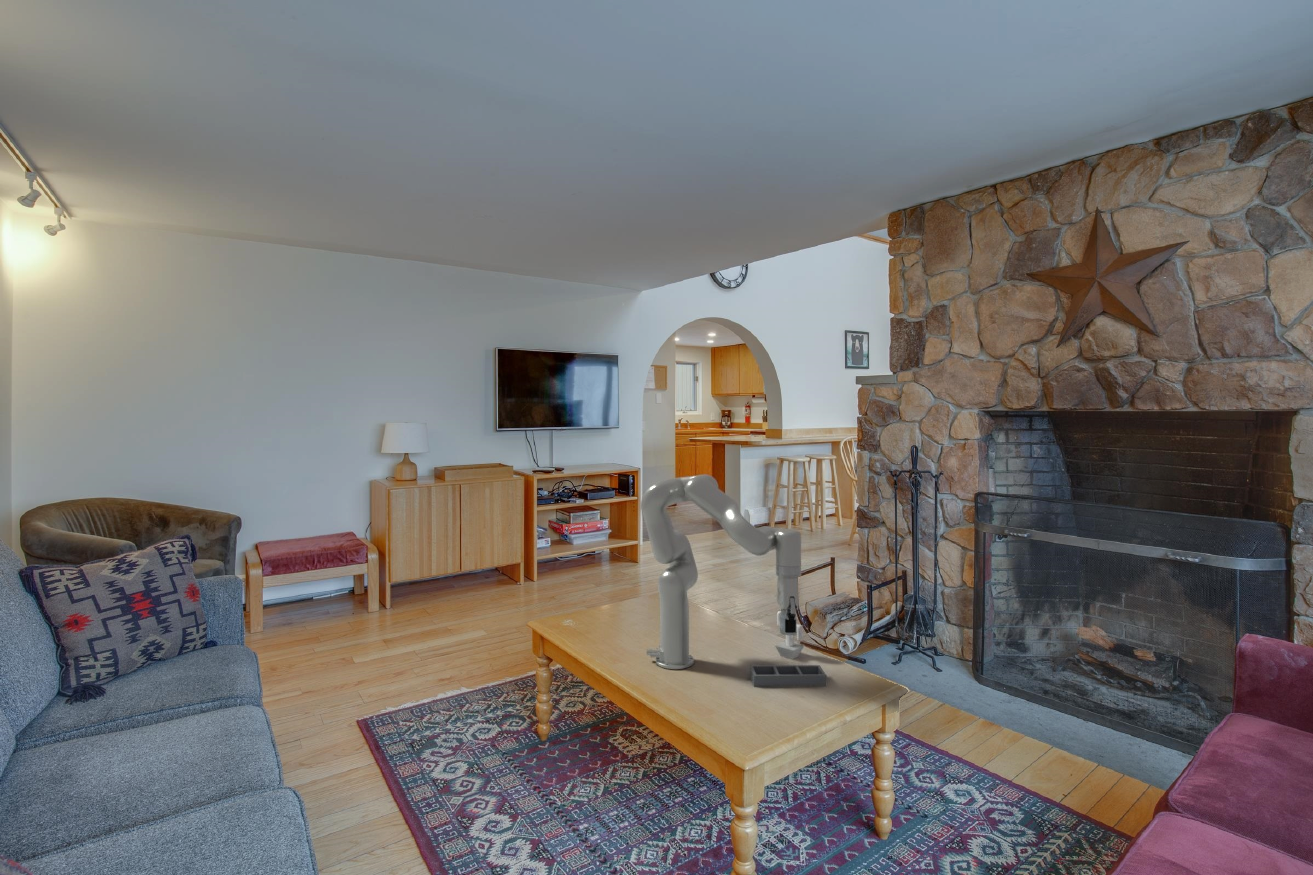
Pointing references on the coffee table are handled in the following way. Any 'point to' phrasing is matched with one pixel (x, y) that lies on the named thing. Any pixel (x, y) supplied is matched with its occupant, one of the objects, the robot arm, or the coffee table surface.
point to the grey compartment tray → (787, 675)
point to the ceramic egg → (782, 623)
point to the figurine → (790, 642)
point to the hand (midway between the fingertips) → (788, 628)
